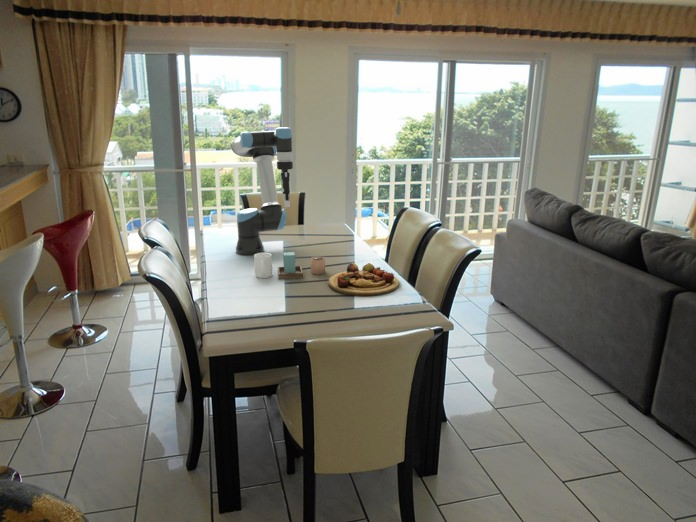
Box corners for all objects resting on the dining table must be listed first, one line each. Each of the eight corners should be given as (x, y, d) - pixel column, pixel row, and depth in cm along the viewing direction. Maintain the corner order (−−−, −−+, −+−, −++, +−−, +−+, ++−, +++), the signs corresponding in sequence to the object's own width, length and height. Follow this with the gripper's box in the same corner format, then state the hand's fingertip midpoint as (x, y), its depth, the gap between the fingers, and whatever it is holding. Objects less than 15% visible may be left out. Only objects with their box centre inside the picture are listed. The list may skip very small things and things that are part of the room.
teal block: (294, 272, 254) (294, 252, 251) (295, 275, 249) (294, 254, 247) (284, 272, 253) (283, 252, 250) (284, 275, 249) (283, 255, 246)
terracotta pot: (310, 270, 258) (309, 256, 256) (324, 269, 259) (324, 255, 257) (311, 274, 251) (311, 260, 249) (326, 274, 252) (325, 259, 250)
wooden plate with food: (347, 302, 218) (347, 283, 215) (317, 279, 245) (317, 262, 242) (413, 291, 231) (414, 273, 229) (377, 270, 258) (378, 254, 256)
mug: (272, 280, 244) (271, 259, 241) (254, 281, 243) (252, 260, 240) (273, 272, 255) (271, 252, 252) (255, 273, 254) (254, 252, 251)
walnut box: (277, 271, 256) (277, 267, 255) (301, 270, 258) (301, 265, 257) (278, 279, 245) (278, 274, 245) (303, 277, 247) (303, 272, 246)
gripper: (275, 158, 264) (277, 200, 270) (277, 163, 241) (279, 209, 247) (290, 157, 265) (292, 199, 272) (294, 163, 242) (295, 209, 248)
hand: (286, 204), depth 259 cm, fingers open, 13 cm apart
